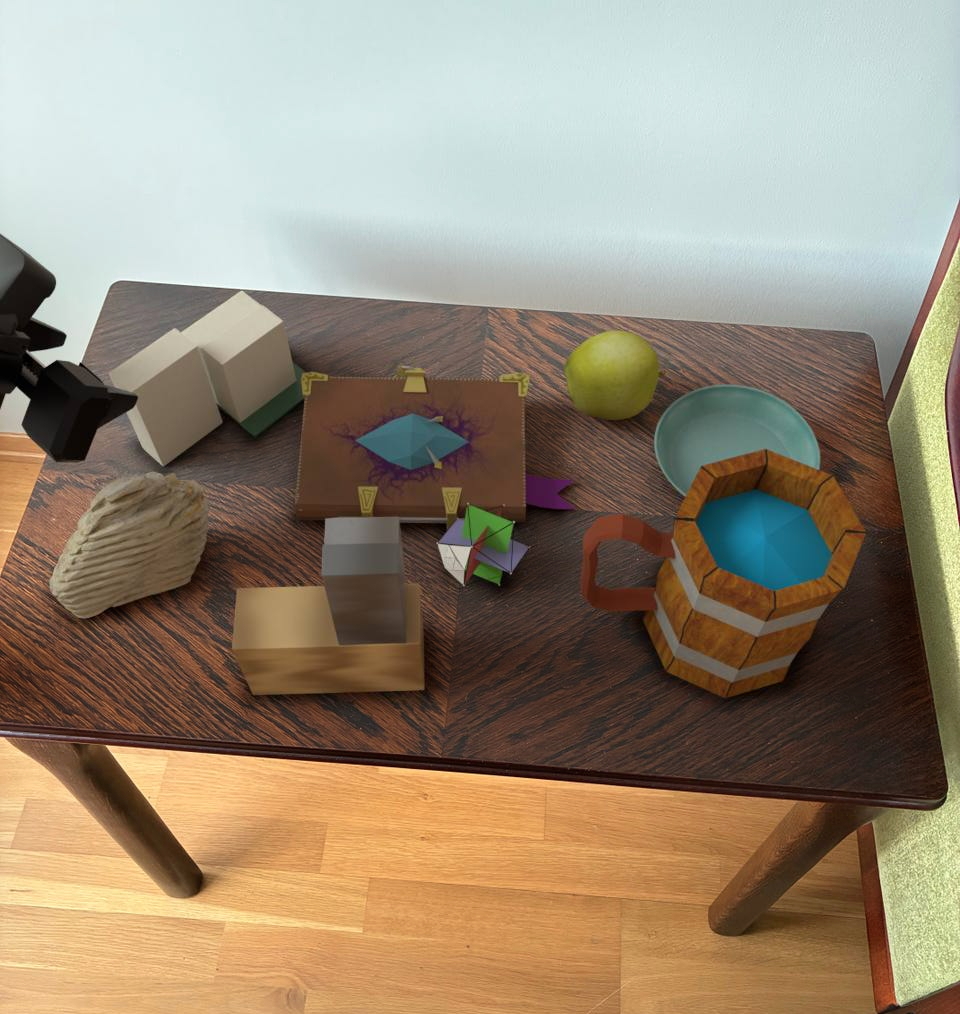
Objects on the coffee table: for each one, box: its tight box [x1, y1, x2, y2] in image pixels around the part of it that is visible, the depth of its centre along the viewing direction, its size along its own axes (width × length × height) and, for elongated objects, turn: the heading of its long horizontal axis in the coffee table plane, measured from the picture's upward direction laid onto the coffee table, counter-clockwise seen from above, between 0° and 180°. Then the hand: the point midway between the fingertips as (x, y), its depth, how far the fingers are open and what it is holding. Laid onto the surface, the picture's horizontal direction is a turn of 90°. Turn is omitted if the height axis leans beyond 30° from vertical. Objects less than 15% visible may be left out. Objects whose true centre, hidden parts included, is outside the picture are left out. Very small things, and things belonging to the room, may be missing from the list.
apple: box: [563, 330, 666, 421], centre depth 92 cm, size 8×9×8 cm
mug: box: [580, 449, 867, 699], centre depth 79 cm, size 20×14×15 cm
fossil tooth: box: [48, 471, 210, 620], centre depth 82 cm, size 12×6×15 cm
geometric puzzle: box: [436, 503, 531, 587], centre depth 85 cm, size 7×7×8 cm
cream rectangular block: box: [108, 327, 223, 467], centre depth 89 cm, size 7×3×10 cm, turn 137°
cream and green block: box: [180, 290, 307, 439], centre depth 93 cm, size 8×10×8 cm
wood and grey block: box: [231, 517, 426, 696], centre depth 75 cm, size 14×5×18 cm, turn 92°
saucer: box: [653, 383, 821, 498], centre depth 92 cm, size 15×15×3 cm
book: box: [294, 362, 576, 531], centre depth 91 cm, size 16×25×5 cm, turn 90°
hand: (99, 369), depth 81 cm, fingers open, 9 cm apart
